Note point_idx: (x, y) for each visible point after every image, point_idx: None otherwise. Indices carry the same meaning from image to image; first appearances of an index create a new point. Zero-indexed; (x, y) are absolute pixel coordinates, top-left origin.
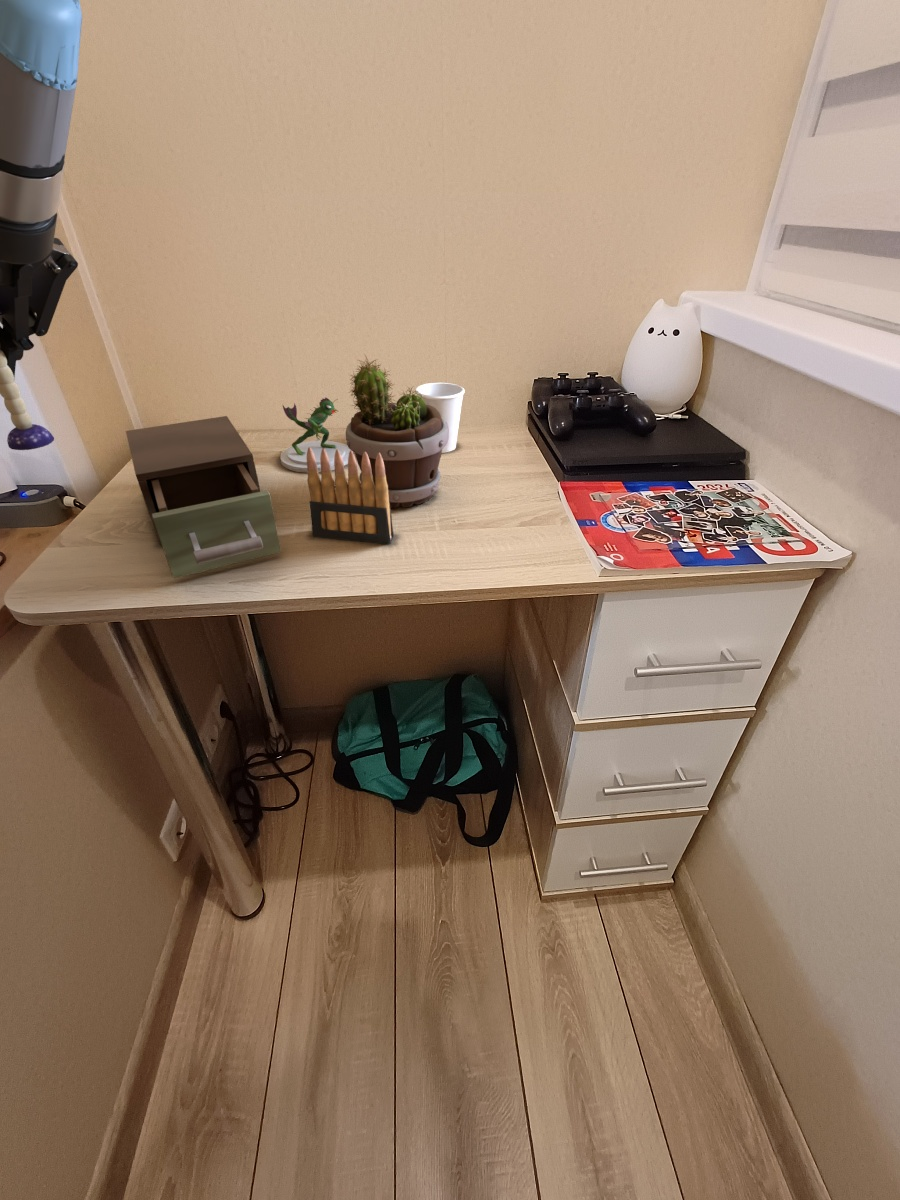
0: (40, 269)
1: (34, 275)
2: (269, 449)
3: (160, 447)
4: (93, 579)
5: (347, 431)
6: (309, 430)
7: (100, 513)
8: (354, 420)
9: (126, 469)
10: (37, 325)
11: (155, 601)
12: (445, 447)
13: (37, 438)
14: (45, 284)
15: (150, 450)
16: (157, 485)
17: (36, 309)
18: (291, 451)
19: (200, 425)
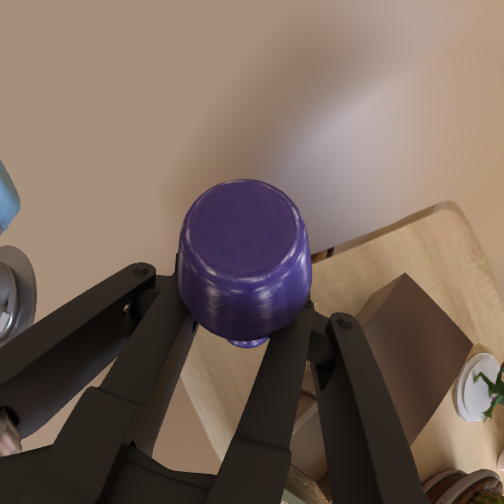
0: (360, 497)
1: (362, 451)
2: (479, 330)
3: (384, 354)
4: (225, 369)
5: (454, 496)
6: (494, 388)
7: (326, 280)
8: (463, 501)
9: (400, 232)
10: (314, 380)
11: (213, 441)
12: (500, 469)
13: (239, 343)
14: (341, 484)
15: (374, 350)
16: (310, 413)
17: (325, 400)
18: (477, 367)
19: (446, 341)
